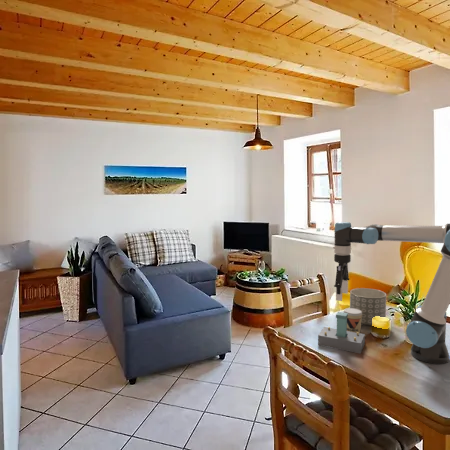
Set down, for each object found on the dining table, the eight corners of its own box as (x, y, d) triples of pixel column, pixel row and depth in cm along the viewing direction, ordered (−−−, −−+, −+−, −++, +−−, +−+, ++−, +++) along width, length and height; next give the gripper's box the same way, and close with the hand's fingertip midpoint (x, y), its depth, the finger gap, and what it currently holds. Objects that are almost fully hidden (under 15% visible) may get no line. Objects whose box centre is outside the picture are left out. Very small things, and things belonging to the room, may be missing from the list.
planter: (346, 317, 214) (347, 287, 212) (379, 318, 211) (380, 288, 209) (353, 329, 195) (354, 297, 193) (389, 330, 192) (391, 298, 191)
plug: (347, 343, 177) (347, 313, 176) (345, 347, 173) (346, 316, 172) (337, 341, 180) (338, 311, 178) (335, 345, 175) (335, 314, 174)
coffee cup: (342, 334, 188) (343, 312, 187) (343, 328, 197) (344, 307, 196) (361, 337, 185) (362, 314, 184) (361, 330, 193) (362, 309, 192)
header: (364, 343, 177) (364, 331, 176) (360, 353, 166) (360, 340, 166) (324, 336, 186) (324, 324, 186) (318, 344, 176) (318, 332, 176)
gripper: (339, 249, 184) (339, 289, 186) (328, 257, 163) (328, 302, 165) (355, 250, 181) (354, 291, 183) (345, 258, 159) (344, 304, 161)
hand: (341, 296), depth 174 cm, fingers open, 13 cm apart
